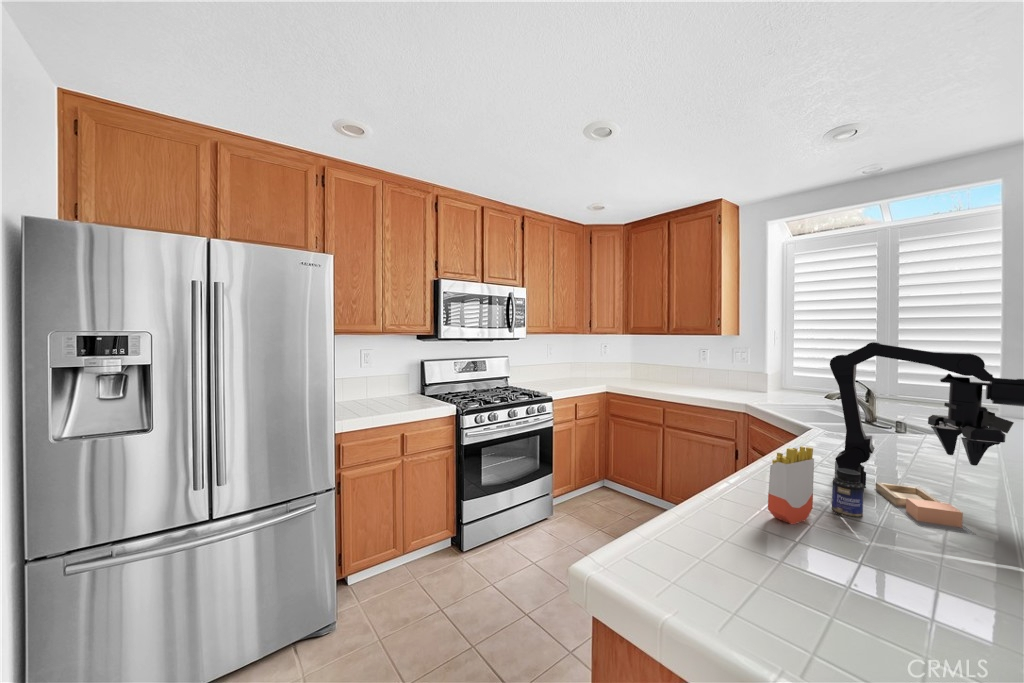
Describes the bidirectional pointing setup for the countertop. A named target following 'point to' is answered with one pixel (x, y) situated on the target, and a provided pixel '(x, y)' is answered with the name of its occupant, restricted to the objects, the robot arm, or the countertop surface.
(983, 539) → the countertop surface
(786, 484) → the french fries container
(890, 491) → the tray
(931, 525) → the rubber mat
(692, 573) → the countertop surface
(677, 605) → the countertop surface
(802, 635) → the countertop surface
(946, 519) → the card deck block
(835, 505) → the pill bottle
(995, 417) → the robot arm
